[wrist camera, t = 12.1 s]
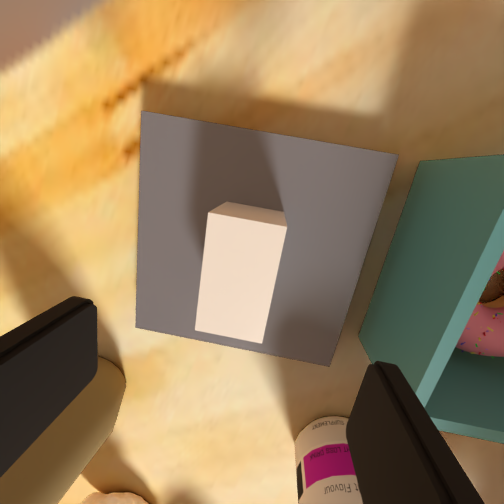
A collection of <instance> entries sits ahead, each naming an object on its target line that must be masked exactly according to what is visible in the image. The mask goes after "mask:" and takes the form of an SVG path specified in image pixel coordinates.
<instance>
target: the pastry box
mask: <svg viewBox="0 0 504 504" xmlns="http://www.w3.org/2000/svg"><path fill="white" fill-rule="evenodd" d="M503 251H504V155H492V156H479V157H466V158H453V159H441V160H428V161H420V163H419V166H418V169H417V172H416V174H415V177H414V180H413V183H412V186H411V189H410V191H409V194H408V197H407V200H406V203H405V206H404V208H403V211H402V214H401V217H400V220H399V223H398V225H397V228H396V231H395V234H394V237H393V240H392V242H391V245H390V248H389V251H388V254H387V256H386V259H385V262H384V265H383V268H382V271H381V273H380V276H379V279H378V282H377V285H376V288H375V290H374V293H373V296H372V299H371V302H370V305H369V307H368V310H367V313H366V316H365V319H364V322H363V324H362V327H361V330H360V333H359V336H358V337H359V339H360V341H361V343H362V345H363V347H364V349H365V351H366V353H367V355H368V357H369V359H370V361H371V363H372V364H374V363H375V362H376V361H382V362H387V363H392V364H395V365H397V366H398V367H399V369H400V370H401V372H402V373H403V375H404V376H405V378H406V380H407V381H408V383H409V384H410V386H411V388H412V389H413V391H414V392H415V394H416V396H417V397H418V399H419V400H420V402H421V403H422V405H423V407H424V408H425V410H426V411H427V413H428V415H429V416H430V418H431V419H432V421H433V423H434V424H435V426H436V427H437V429H438V430H439V431H444V432H449V433H454V434H459V435H464V436H469V437H473V438H478V439H483V440H488V441H493V442H498V443H502V444H504V357H496V356H493V357H494V358H492V357H491V356H484V355H477V354H471V353H469V352H467V351H463V352H461V351H462V350H461V349H459V348H456V347H455V346H456V344H457V342H458V340H459V338H460V336H461V334H462V332H463V330H464V328H465V326H466V324H467V322H468V320H469V318H470V316H471V314H472V313H473V311H474V309H475V307H476V305H477V303H478V301H479V299H480V297H481V295H482V293H483V291H484V289H485V287H486V285H487V283H488V281H489V279H490V277H491V275H492V273H493V271H494V269H495V267H496V265H497V263H498V261H499V259H500V257H501V255H502V253H503Z"/></svg>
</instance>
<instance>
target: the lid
mask: <svg viewBox="0 0 504 504" xmlns="http://www.w3.org/2000/svg"><path fill="white" fill-rule="evenodd" d="M398 156H399V155H397V154H391V153H386V152H380V151H374V150H368V149H362V148H356V147H351V146H345V145H339V144H333V143H327V142H321V141H316V140H310V139H304V138H298V137H292V136H286V135H281V134H275V133H269V132H263V131H257V130H252V129H246V128H240V127H234V126H228V125H222V124H217V123H211V122H205V121H199V120H193V119H187V118H182V117H176V116H170V115H164V114H158V113H152V112H147V111H141V144H140V181H139V217H138V254H137V291H136V327H135V328H140V329H145V330H150V331H155V332H160V333H165V334H170V335H175V336H180V337H185V338H190V339H195V340H200V341H205V342H210V343H215V344H219V345H224V346H229V347H234V348H239V349H244V350H249V351H254V352H259V353H264V354H269V355H274V356H279V357H284V358H289V359H294V360H299V361H304V362H309V363H314V364H318V365H323V366H328V367H330V364H331V361H332V358H333V355H334V352H335V349H336V346H337V343H338V340H339V337H340V333H341V330H342V327H343V324H344V321H345V318H346V315H347V312H348V309H349V306H350V303H351V300H352V297H353V294H354V291H355V288H356V285H357V282H358V278H359V275H360V272H361V269H362V266H363V263H364V260H365V257H366V254H367V251H368V248H369V245H370V242H371V239H372V236H373V233H374V230H375V227H376V224H377V220H378V217H379V214H380V211H381V208H382V205H383V202H384V199H385V196H386V193H387V190H388V187H389V184H390V181H391V178H392V175H393V172H394V169H395V166H396V162H397V159H398Z"/></svg>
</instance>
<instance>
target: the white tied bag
mask: <svg viewBox="0 0 504 504" xmlns="http://www.w3.org/2000/svg"><path fill="white" fill-rule="evenodd" d="M80 504H148V503H147V502H146V501H145V500H144V499H143V498H142V497H141V496H138V495H135V494H134V493H130V492H125V493H110V494H103V493H100V492H94V493H92V494H90V495H88V496H87V497H86V498H85V499H84V500H83V501H82V502H81V503H80Z"/></svg>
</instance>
